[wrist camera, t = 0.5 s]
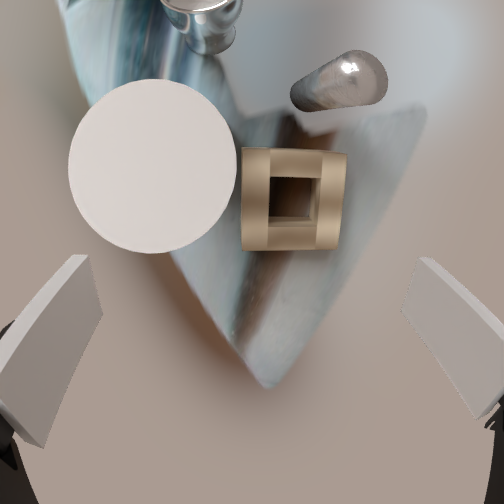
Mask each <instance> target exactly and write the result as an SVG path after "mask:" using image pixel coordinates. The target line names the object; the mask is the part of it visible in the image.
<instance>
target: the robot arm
mask: <svg viewBox="0 0 504 504" xmlns="http://www.w3.org/2000/svg"><path fill="white" fill-rule="evenodd" d="M401 312H402V313H403V315H404V316H405V317H406V318H407V320H408V321H409V323H410V324H411V325H412V327H413V328H414V329H415V331H416V332H417V333H418V335H419V336H420V338H421V339H422V340H423V342H424V343H425V344H426V346H427V347H428V349H429V350H430V351H431V353H432V354H433V356H434V357H435V359H436V360H437V361H438V363H439V364H440V366H441V367H442V369H443V370H444V372H445V373H446V375H447V376H448V377H449V379H450V380H451V382H452V384H453V385H454V387H455V388H456V390H457V391H458V393H459V394H460V396H461V398H462V399H463V401H464V402H465V404H466V406H467V407H468V409H469V410H470V412H471V414H472V415H473V417H474V419H475V420H477V419H479V418H481V417H483V416H485V415H487V414H488V413H489V412H490V411H491V410H492V409H493V407H494V406H495V405H496V404H497V402H499V404H500V405H501V406H500V407H499V409H498V410H497V411H496V412H495V413H494V415H493V416H492V417H491V418H490V419H489V420H488V421H487V423H486V424H485V427H484V428H487V427H488V426H489V425H490V424H491V423H492V422H493V421H495V423H494V424H493V425H492V426H491V427H490V430H494V431H495V438H494V448H493V456H492V464H491V471H490V477H489V482H488V487H487V492H486V497H485V501H484V504H504V325H503V324H502V323H501V322H500V321H499V320H498V319H497V318H496V317H495V316H494V315H493V314H492V313H491V312H490V311H489V310H488V309H487V308H486V307H485V306H484V305H483V304H482V303H481V302H480V301H479V300H478V299H477V298H476V297H475V296H474V295H473V294H472V293H471V292H470V291H469V290H467V289H466V288H465V287H464V286H463V285H462V284H461V283H460V282H459V281H458V280H456V279H455V278H454V277H453V276H452V275H451V274H450V273H448V272H447V271H446V270H445V269H444V268H443V267H441V266H440V265H439V264H438V263H437V262H436V261H434V260H433V259H432V258H431V257H418V258H417V262H416V265H415V269H414V272H413V275H412V279H411V282H410V285H409V288H408V291H407V294H406V297H405V300H404V303H403V306H402V309H401ZM102 315H103V312H102V309H101V306H100V301H99V298H98V294H97V289H96V285H95V281H94V277H93V272H92V268H91V263H90V258H89V255H72V256H71V257H70V258H69V259H68V260H67V261H66V262H65V263H64V264H63V265H62V266H61V268H60V269H59V270H58V271H57V272H56V273H55V274H54V275H53V276H52V277H51V278H50V279H49V281H48V282H47V283H46V284H45V285H44V286H43V287H42V288H41V290H40V291H39V292H38V293H37V294H36V295H35V297H34V298H33V299H32V300H31V302H30V303H29V304H28V305H27V306H26V307H25V309H24V310H23V311H22V312H21V314H20V315H19V316H18V317H17V319H16V320H14V321H12V322H11V323H10V324H8V325H7V326H6V327H5V328H3V329H2V331H1V332H0V504H39V503H38V501H37V499H36V496H35V494H34V492H33V489H32V487H31V485H30V482H29V479H28V477H27V474H26V471H25V468H24V465H23V462H22V459H21V456H20V453H19V450H18V447H17V444H16V442H15V440H14V439H13V438H12V436H13V433H14V431H15V432H16V433H17V434H18V435H19V436H20V437H21V438H22V439H23V440H24V441H25V442H27V443H30V444H32V445H35V446H37V447H40V448H44V446H45V443H46V441H47V438H48V435H49V432H50V430H51V427H52V424H53V421H54V419H55V416H56V414H57V411H58V409H59V406H60V404H61V402H62V399H63V397H64V394H65V392H66V389H67V387H68V385H69V383H70V381H71V378H72V376H73V374H74V372H75V370H76V367H77V365H78V363H79V361H80V359H81V356H82V355H83V352H84V351H85V348H86V347H87V345H88V342H89V341H90V339H91V336H92V335H93V333H94V331H95V329H96V327H97V325H98V323H99V321H100V319H101V317H102Z"/></svg>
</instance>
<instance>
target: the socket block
mask: <svg viewBox="0 0 504 504" xmlns="http://www.w3.org/2000/svg"><path fill="white" fill-rule="evenodd" d="M346 163H347V154H343V153H340V152H336V151H326V150H312V149H295V148H268V147H242V148H241V244H242V251H267V250H334V249H337V247H338V239H339V232H340V224H341V215H342V206H343V197H344V187H345V176H346ZM270 176H276V177H309V178H312V182H311V196H310V210H309V217H268V213H269V184H270Z"/></svg>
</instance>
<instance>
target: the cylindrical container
mask: <svg viewBox="0 0 504 504" xmlns="http://www.w3.org/2000/svg"><path fill="white" fill-rule="evenodd" d="M236 171H237V167H236V150H235V146H234V142H233V137H232V134H231V130H230V128H229V126H228V124H227V123H226V121H225V120H224V118H223V117H222V115H221V114H220V113H219V111H218V110H217V109H216V107H215V106H214V105H213V104H212V103H211V102H210V101H209V100H207V99H206V98H205V97H204V96H203V95H202V94H200V93H199V92H197V91H195V90H193V89H191V88H189V87H188V86H186V85H184V84H180V83H176V82H173V81H169V80H159V79H146V80H140V81H135V82H130V83H128V84H125V85H123V86H120V87H118V88H116V89H114V90H112V91H111V92H109V93H108V94H106V95H105V96H103V97H102V98H101V99H100V100H99V101H98V102H96V103H95V104H94V105H93V106H92V107H91V108H90V109H89V111H88V112H87V114H86V115H85V117H84V118H83V119H82V121H81V122H80V124H79V126H78V128H77V130H76V133H75V135H74V137H73V140H72V144H71V148H70V153H69V164H68V175H69V182H70V188H71V191H72V195H73V198H74V201H75V203H76V205H77V207H78V209H79V211H80V213H81V214H82V216H83V217H84V219H85V220H86V221H87V223H88V224H89V225H90V226H91V227H92V228H93V229H94V230H95V231H96V232H97V233H98V234H100V235H101V236H102V237H103V238H104V239H106V240H108V241H109V242H111V243H113V244H115V245H116V246H119V247H121V248H124V249H127V250H130V251H134V252H141V253H163V252H168V251H172V250H176V249H179V248H181V247H184V246H186V245H188V244H190V243H192V242H194V241H195V240H197V239H198V238H200V237H201V236H202V235H204V234H205V233H206V232H207V231H208V230H209V229H210V228H211V227H212V226H213V225H214V224H215V223H216V222H217V221H218V219H219V218H220V216H221V214H222V213H223V211H224V210H225V208H226V207H227V205H228V202H229V199H230V197H231V194H232V192H233V189H234V183H235V177H236Z"/></svg>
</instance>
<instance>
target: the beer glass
mask: <svg viewBox="0 0 504 504" xmlns="http://www.w3.org/2000/svg"><path fill="white" fill-rule="evenodd" d="M160 1H161V4H162V7H163V10H164V12H165V14H166V16H167V18H168V19H169V20H170V22H171V23H172V24H173V26H174V27H175V28H177V29H178V30H179V31H180V32H182V33H183V34H185V39H186V42H187V44H188V46H189V47H190V48H191V49H192V50H193V51H195V52H197V53H199V54H203V55H215V54H218V53H221V52H223V51H224V50H226V49H227V48H229V47H230V46H231V44H232V43H233V41H234V38H235V27H234V24H235V22H236V21H237V19H238V17H239V15H240V12H241V10H242V5H243V0H160Z"/></svg>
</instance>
